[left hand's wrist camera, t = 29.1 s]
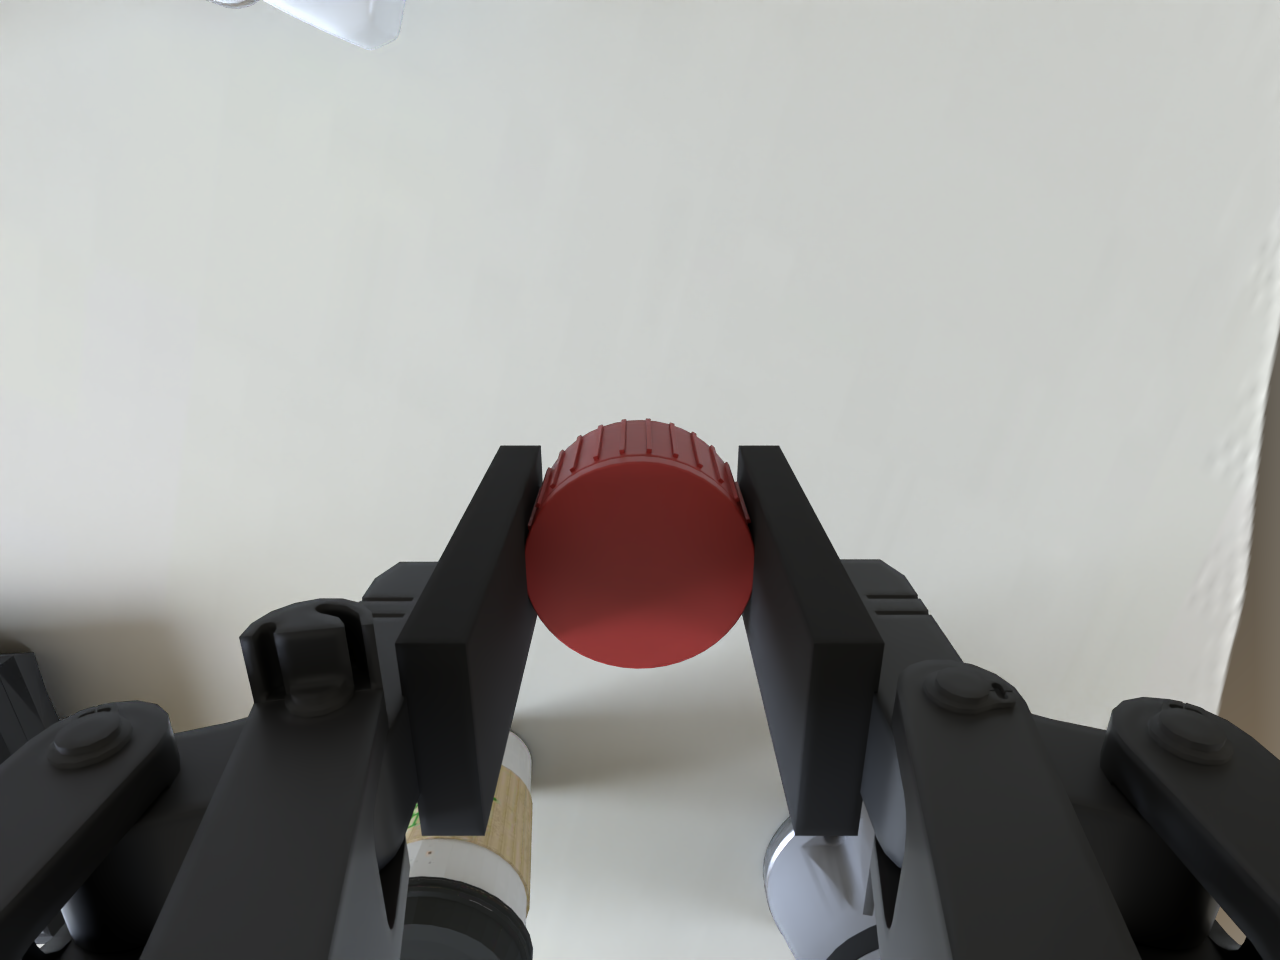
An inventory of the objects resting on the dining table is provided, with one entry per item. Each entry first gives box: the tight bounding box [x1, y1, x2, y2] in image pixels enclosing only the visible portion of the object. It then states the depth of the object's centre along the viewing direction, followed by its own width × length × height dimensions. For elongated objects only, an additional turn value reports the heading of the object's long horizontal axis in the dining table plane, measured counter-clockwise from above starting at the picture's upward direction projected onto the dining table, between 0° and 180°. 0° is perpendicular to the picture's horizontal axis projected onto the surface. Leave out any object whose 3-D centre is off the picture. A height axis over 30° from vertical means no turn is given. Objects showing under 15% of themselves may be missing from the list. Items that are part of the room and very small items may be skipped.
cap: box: [525, 419, 754, 669], centre depth 13 cm, size 4×4×2 cm
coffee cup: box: [400, 731, 533, 960], centre depth 42 cm, size 10×10×15 cm
